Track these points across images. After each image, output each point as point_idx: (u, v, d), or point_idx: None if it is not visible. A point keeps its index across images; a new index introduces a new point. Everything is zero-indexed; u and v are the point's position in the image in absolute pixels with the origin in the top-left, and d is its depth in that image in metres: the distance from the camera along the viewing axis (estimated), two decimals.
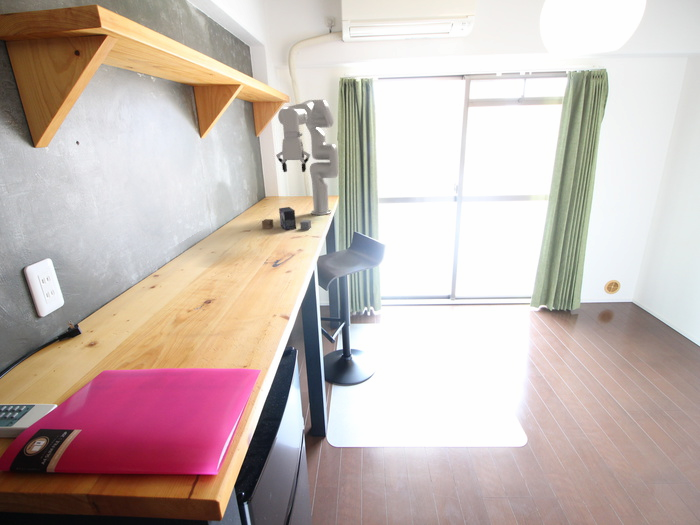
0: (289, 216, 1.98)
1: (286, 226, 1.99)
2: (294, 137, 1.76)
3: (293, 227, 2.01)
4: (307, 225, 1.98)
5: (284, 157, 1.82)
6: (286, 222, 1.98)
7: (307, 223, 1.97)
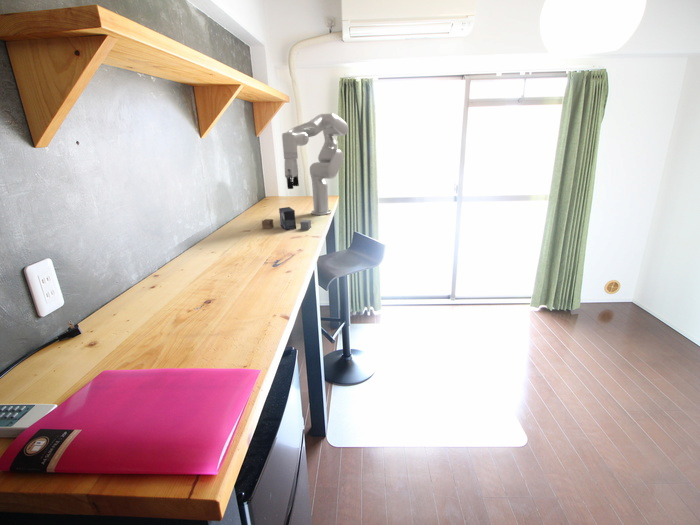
0: (289, 216, 1.98)
1: (286, 226, 1.99)
2: None
3: (293, 227, 2.01)
4: (307, 225, 1.98)
5: (293, 175, 2.03)
6: (286, 222, 1.98)
7: (307, 223, 1.97)
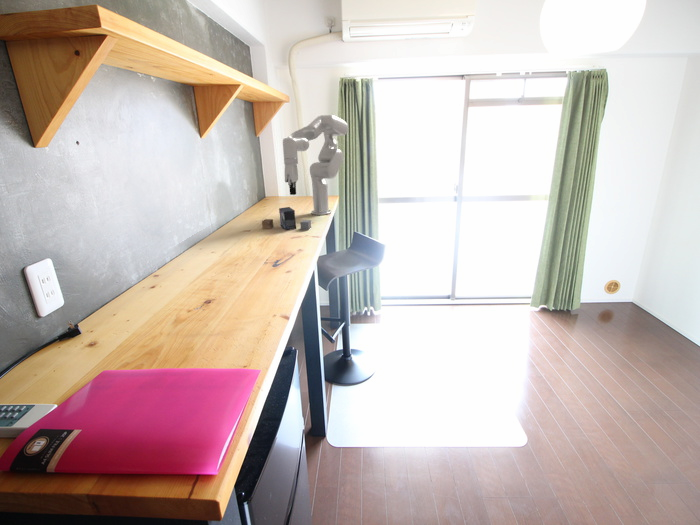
0: (289, 216, 1.98)
1: (286, 226, 1.99)
2: None
3: (293, 227, 2.01)
4: (307, 225, 1.98)
5: (293, 180, 2.04)
6: (286, 222, 1.98)
7: (307, 223, 1.97)
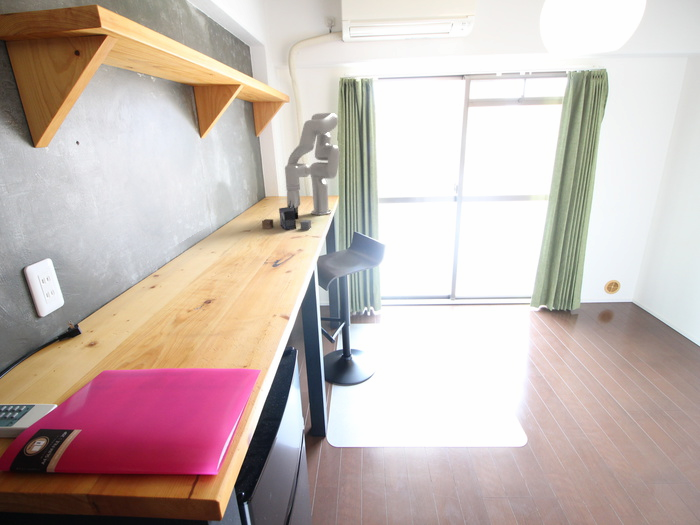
0: (289, 216, 1.98)
1: (286, 226, 1.99)
2: None
3: (293, 227, 2.01)
4: (307, 225, 1.98)
5: (295, 206, 2.09)
6: (286, 222, 1.98)
7: (307, 223, 1.97)
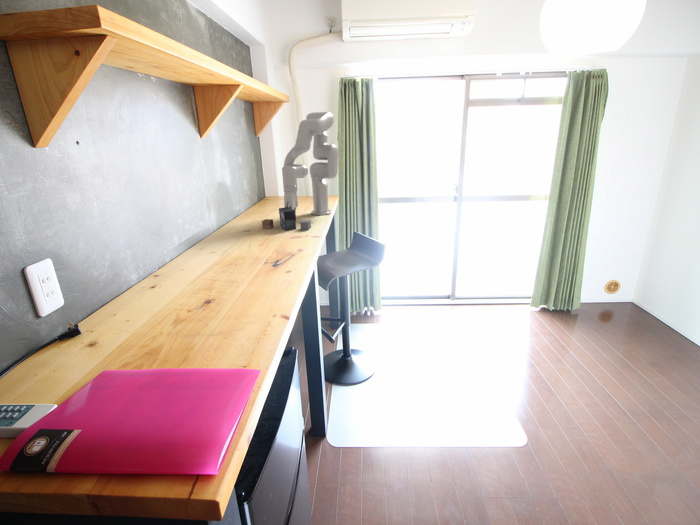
0: (289, 216, 1.97)
1: (286, 226, 1.98)
2: None
3: (292, 227, 2.00)
4: (307, 225, 1.98)
5: (292, 207, 2.05)
6: (286, 222, 1.98)
7: (307, 223, 1.97)
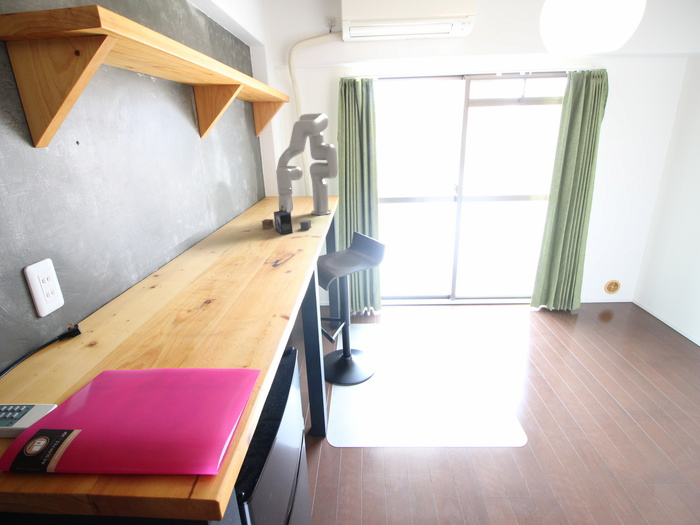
0: (286, 220, 1.90)
1: (282, 230, 1.91)
2: None
3: (289, 231, 1.93)
4: (307, 225, 1.98)
5: (287, 211, 1.98)
6: (282, 226, 1.90)
7: (307, 223, 1.97)
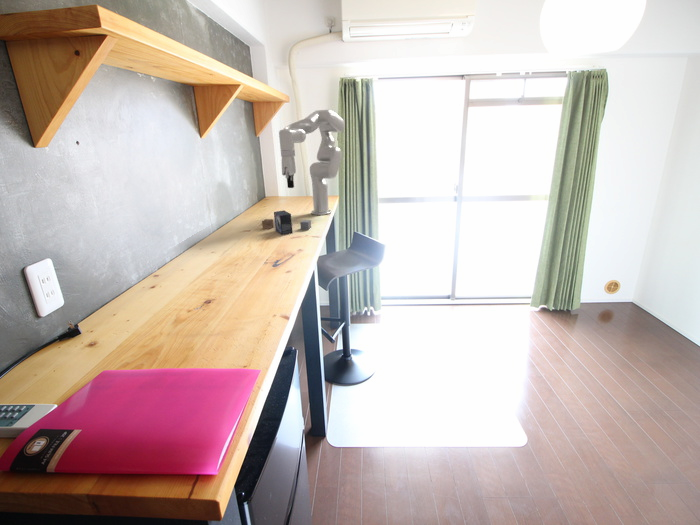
0: (286, 220, 1.90)
1: (282, 230, 1.91)
2: None
3: (289, 231, 1.92)
4: (307, 225, 1.98)
5: (290, 173, 1.99)
6: (282, 226, 1.90)
7: (307, 223, 1.97)
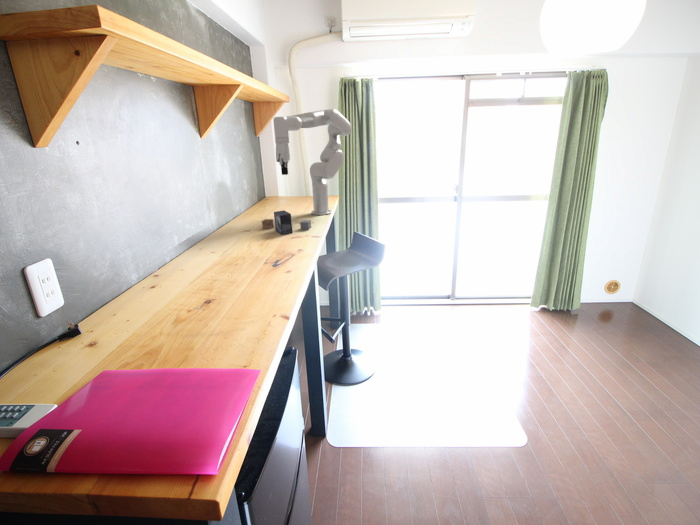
0: (286, 220, 1.90)
1: (282, 230, 1.91)
2: None
3: (289, 231, 1.92)
4: (307, 225, 1.98)
5: (284, 159, 2.03)
6: (282, 226, 1.90)
7: (307, 223, 1.97)
